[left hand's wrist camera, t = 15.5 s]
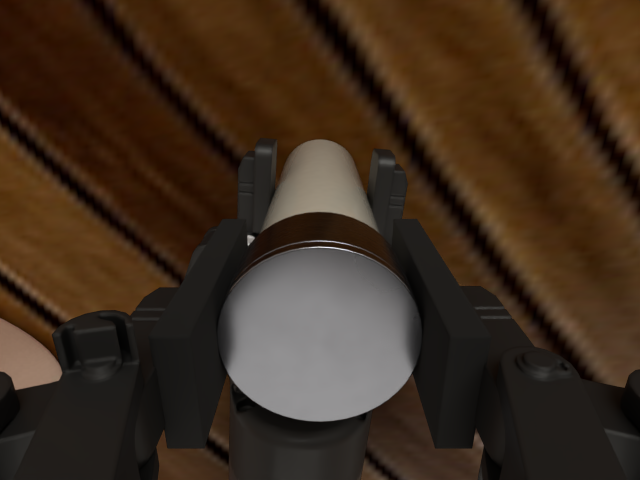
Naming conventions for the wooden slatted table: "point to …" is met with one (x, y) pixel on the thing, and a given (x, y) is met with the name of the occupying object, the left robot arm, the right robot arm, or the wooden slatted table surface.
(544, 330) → the wooden slatted table surface
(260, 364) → the lid
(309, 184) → the beige cylinder
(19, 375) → the anatomical model
